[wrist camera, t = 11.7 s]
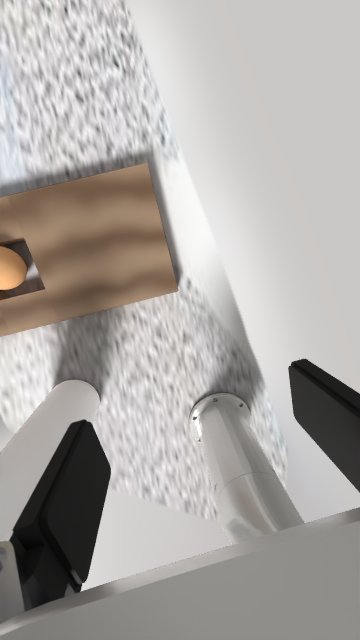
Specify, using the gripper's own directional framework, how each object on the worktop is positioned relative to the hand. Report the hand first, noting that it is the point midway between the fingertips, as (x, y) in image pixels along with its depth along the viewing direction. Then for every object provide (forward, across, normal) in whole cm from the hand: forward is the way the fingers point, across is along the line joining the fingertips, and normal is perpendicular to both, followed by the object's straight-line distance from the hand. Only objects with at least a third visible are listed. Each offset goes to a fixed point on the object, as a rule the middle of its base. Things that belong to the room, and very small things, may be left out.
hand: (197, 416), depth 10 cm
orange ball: (+25, +22, -12) cm, 35 cm away
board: (+28, +13, -11) cm, 33 cm away
